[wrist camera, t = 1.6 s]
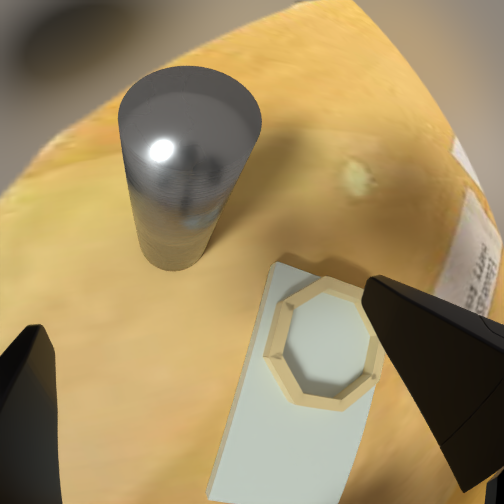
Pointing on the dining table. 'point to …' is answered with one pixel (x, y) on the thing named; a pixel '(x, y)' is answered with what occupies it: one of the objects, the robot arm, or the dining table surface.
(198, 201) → the grey metal peg
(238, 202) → the dining table surface
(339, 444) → the collar board
